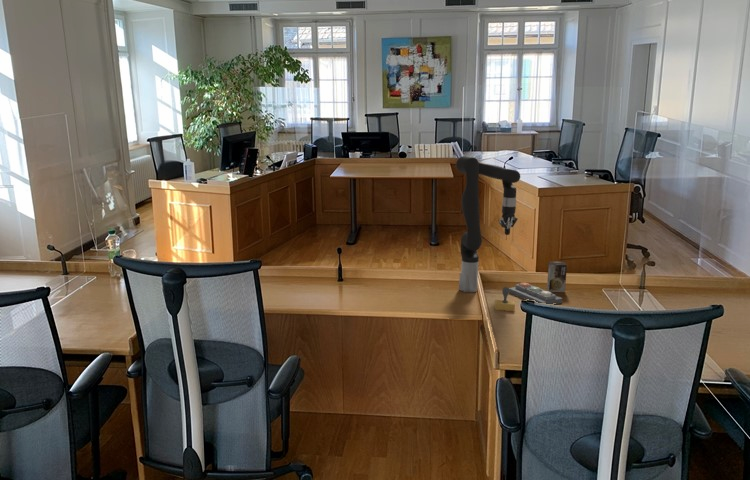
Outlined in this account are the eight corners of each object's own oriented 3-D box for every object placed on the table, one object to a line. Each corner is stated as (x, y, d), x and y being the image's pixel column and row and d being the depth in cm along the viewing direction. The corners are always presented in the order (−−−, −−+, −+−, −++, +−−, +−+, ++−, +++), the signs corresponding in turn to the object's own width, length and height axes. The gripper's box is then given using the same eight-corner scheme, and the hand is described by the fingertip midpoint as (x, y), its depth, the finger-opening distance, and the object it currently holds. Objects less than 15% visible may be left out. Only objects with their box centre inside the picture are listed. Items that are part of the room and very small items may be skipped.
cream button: (545, 299, 326) (546, 294, 326) (539, 296, 331) (539, 291, 330) (552, 297, 329) (553, 293, 328) (545, 294, 333) (546, 290, 332)
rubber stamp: (494, 310, 318) (496, 287, 315) (495, 306, 324) (496, 284, 321) (514, 311, 316) (516, 289, 313) (514, 307, 322) (516, 285, 319)
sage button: (535, 294, 333) (535, 290, 332) (528, 291, 337) (528, 287, 337) (541, 293, 336) (542, 288, 335) (535, 290, 340) (535, 286, 339)
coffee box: (562, 288, 352) (565, 261, 348) (565, 292, 345) (567, 264, 341) (546, 288, 353) (548, 261, 348) (548, 291, 346) (550, 264, 342)
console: (542, 307, 323) (543, 299, 322) (508, 292, 345) (509, 284, 343) (561, 302, 330) (562, 294, 329) (527, 288, 351) (527, 281, 350)
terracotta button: (524, 290, 340) (524, 286, 339) (518, 287, 344) (518, 283, 343) (531, 288, 342) (531, 284, 342) (524, 286, 346) (525, 282, 346)
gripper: (513, 202, 355) (511, 232, 360) (495, 204, 349) (493, 234, 353) (522, 205, 349) (520, 234, 353) (504, 207, 342) (502, 237, 347)
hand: (507, 234), depth 353 cm, fingers closed
